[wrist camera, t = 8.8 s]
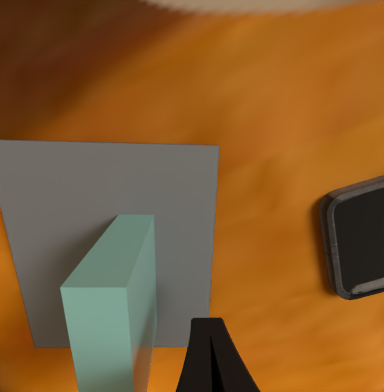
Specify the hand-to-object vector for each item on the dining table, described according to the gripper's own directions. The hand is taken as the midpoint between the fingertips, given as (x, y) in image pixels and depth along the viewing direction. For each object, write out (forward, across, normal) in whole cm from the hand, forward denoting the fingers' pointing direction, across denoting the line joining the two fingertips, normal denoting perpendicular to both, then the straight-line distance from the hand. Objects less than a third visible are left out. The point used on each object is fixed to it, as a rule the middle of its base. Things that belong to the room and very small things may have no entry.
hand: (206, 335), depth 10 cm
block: (+4, +4, 0) cm, 6 cm away
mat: (+5, +5, -1) cm, 7 cm away
